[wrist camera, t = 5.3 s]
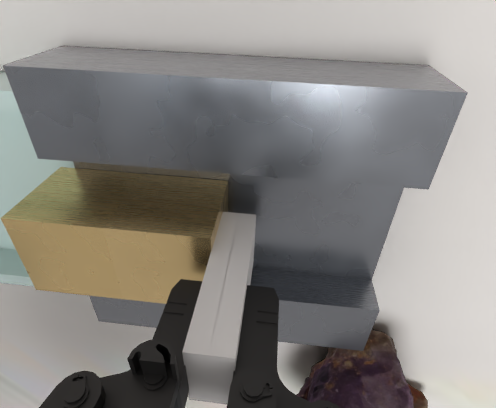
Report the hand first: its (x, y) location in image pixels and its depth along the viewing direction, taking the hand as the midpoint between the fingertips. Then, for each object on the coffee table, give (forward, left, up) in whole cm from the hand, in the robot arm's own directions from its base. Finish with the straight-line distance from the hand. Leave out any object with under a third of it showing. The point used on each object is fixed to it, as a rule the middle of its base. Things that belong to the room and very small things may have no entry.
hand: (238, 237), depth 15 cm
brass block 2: (-3, 0, -2) cm, 3 cm away
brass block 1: (-7, 0, -2) cm, 7 cm away
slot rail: (-1, 0, -3) cm, 3 cm away
